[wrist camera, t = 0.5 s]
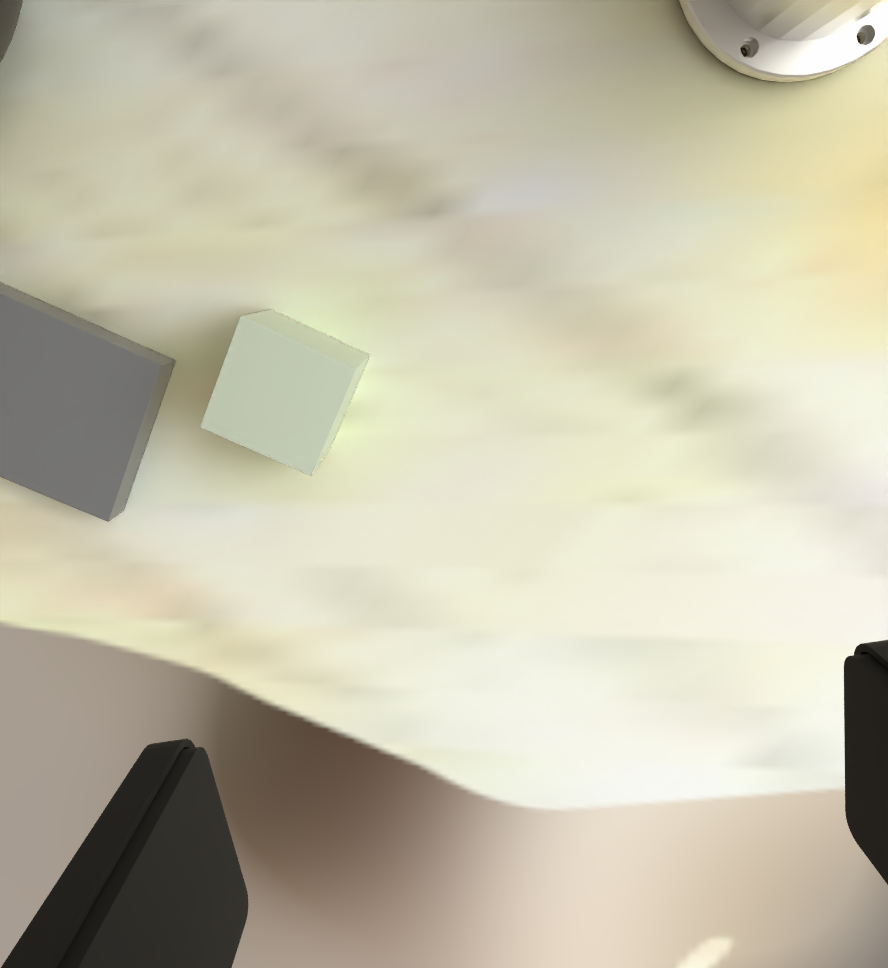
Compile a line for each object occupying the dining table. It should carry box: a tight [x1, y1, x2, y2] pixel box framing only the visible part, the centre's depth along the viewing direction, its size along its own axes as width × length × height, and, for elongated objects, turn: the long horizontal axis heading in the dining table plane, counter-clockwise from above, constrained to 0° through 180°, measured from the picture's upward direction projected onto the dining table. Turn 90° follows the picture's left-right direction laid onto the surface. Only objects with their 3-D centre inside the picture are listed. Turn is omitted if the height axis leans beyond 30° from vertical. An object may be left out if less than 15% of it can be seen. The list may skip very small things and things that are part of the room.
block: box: [200, 309, 370, 476], centre depth 38 cm, size 6×6×6 cm
